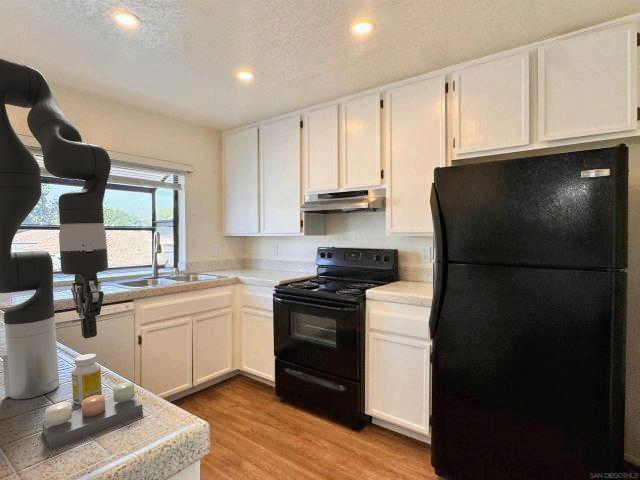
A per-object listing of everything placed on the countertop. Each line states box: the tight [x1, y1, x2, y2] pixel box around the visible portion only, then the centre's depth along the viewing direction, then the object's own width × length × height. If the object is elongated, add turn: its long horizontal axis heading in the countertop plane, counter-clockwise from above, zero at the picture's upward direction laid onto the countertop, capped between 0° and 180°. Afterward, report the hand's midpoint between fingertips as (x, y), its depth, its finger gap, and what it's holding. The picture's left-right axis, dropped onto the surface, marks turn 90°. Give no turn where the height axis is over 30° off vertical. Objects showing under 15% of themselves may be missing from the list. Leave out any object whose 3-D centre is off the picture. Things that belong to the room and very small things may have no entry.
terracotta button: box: [81, 394, 106, 417], centre depth 69 cm, size 4×4×2 cm
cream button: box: [45, 401, 73, 426], centre depth 65 cm, size 4×4×2 cm
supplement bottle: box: [71, 353, 103, 405], centre depth 79 cm, size 5×5×10 cm
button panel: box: [41, 396, 144, 450], centre depth 69 cm, size 15×8×2 cm, turn 136°
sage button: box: [112, 381, 136, 402], centre depth 73 cm, size 4×4×2 cm
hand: (89, 336), depth 69 cm, fingers closed
